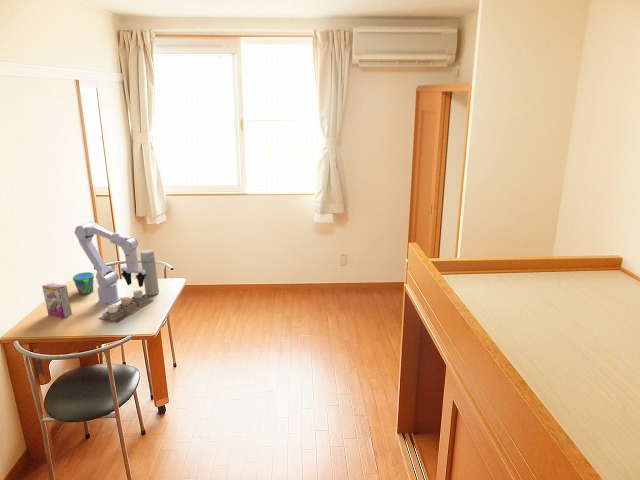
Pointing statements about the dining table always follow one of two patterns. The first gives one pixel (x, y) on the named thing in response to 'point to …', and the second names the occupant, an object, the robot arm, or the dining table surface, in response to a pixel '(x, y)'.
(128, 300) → the terracotta button
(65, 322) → the dining table surface
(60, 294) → the candy bar box
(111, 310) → the cream button
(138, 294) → the sage button
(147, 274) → the water bottle
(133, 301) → the button board
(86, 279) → the snack cup
